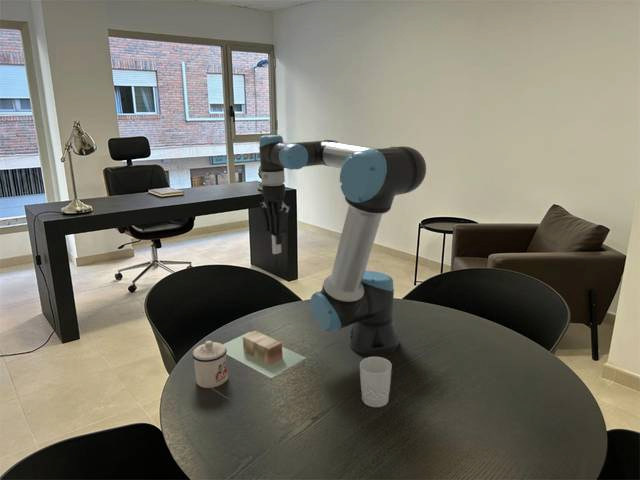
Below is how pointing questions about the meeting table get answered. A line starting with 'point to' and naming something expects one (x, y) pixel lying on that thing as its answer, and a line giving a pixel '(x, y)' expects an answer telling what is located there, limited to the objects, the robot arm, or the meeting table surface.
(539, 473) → the meeting table surface
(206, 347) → the teacup with lid
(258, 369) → the rubber mat
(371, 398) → the white cup
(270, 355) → the oak block
